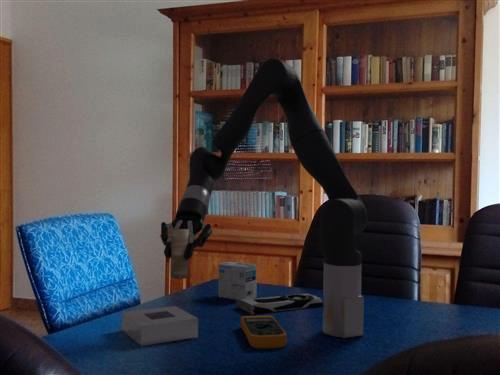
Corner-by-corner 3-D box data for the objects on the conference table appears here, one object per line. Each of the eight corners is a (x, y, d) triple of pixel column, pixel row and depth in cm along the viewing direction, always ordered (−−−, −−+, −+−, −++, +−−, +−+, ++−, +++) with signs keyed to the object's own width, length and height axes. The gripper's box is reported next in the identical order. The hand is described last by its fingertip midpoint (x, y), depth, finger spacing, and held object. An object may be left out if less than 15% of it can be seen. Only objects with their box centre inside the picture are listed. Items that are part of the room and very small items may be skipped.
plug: (191, 278, 137) (191, 230, 137) (174, 279, 135) (174, 230, 134) (184, 275, 141) (184, 228, 140) (168, 276, 139) (168, 229, 138)
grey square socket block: (197, 337, 130) (198, 318, 130) (141, 345, 123) (141, 325, 123) (175, 323, 143) (175, 305, 142) (122, 330, 135) (122, 312, 135)
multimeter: (250, 351, 122) (251, 335, 122) (239, 328, 140) (240, 315, 140) (288, 349, 123) (288, 334, 123) (272, 327, 141) (273, 314, 141)
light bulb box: (257, 297, 174) (257, 263, 173) (245, 301, 168) (246, 266, 168) (229, 293, 179) (229, 260, 179) (217, 297, 174) (217, 263, 173)
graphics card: (235, 298, 160) (307, 291, 171) (235, 310, 160) (307, 301, 171) (251, 305, 151) (326, 297, 162) (251, 318, 151) (326, 308, 162)
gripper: (165, 195, 146) (145, 247, 135) (216, 197, 143) (200, 249, 131) (172, 214, 151) (154, 265, 140) (222, 216, 148) (207, 268, 137)
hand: (176, 257), depth 136 cm, fingers closed on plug, 4 cm apart
